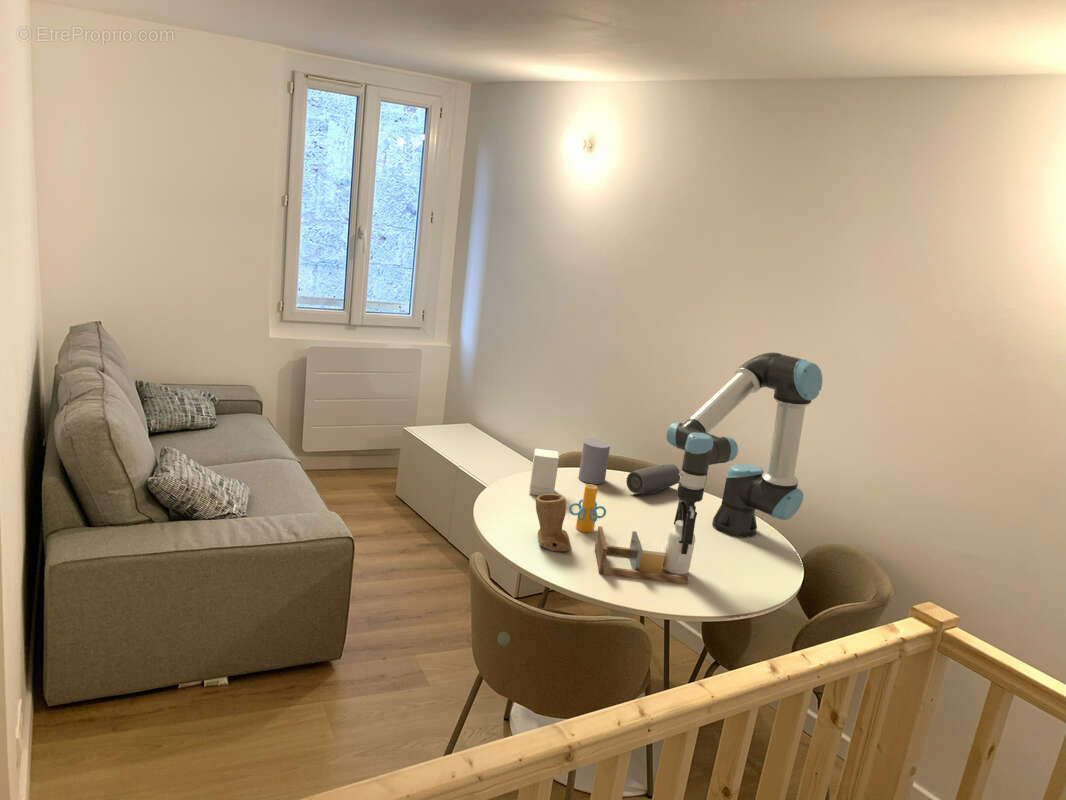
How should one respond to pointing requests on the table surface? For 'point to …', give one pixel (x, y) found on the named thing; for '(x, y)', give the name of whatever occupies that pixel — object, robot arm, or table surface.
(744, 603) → the table surface
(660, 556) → the cream cube
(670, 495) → the table surface
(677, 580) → the lane
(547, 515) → the brown felt boot
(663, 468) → the bluetooth speaker
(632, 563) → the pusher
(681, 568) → the pill bottle
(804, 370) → the robot arm
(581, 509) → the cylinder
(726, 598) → the table surface
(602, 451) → the container
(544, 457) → the supplement box
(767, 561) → the table surface
